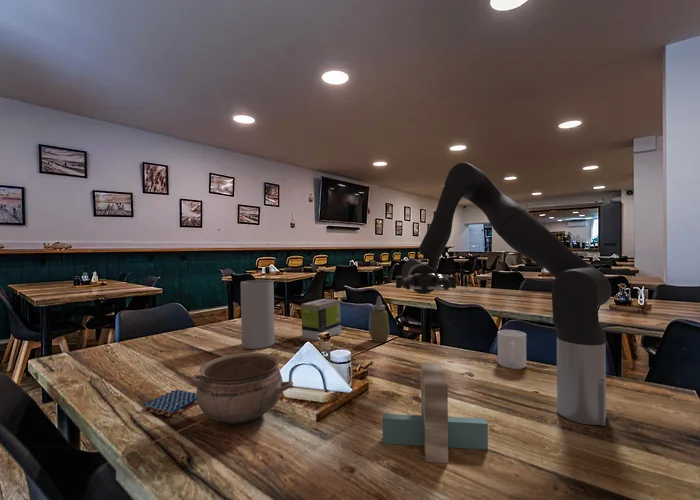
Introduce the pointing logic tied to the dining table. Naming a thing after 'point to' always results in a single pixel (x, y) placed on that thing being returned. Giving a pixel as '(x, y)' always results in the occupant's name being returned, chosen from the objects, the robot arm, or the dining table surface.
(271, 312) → the cylinder vase
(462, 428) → the rail
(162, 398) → the woven mat
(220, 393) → the cooking pot
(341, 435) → the dining table surface
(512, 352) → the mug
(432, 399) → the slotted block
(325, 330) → the tea box
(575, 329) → the robot arm
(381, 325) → the squeeze bottle
